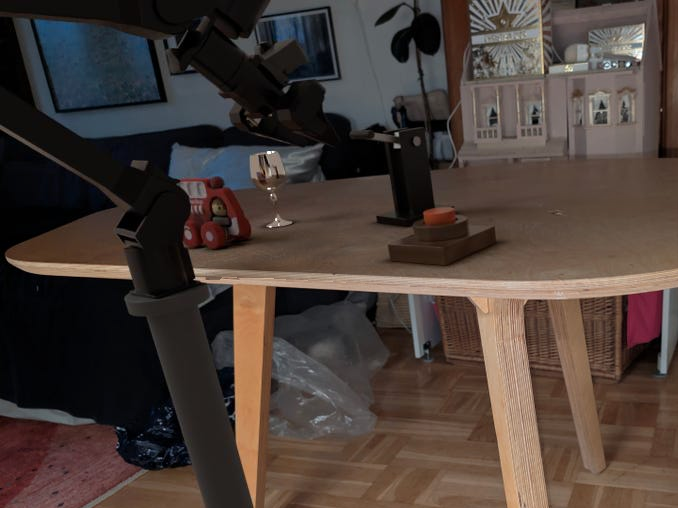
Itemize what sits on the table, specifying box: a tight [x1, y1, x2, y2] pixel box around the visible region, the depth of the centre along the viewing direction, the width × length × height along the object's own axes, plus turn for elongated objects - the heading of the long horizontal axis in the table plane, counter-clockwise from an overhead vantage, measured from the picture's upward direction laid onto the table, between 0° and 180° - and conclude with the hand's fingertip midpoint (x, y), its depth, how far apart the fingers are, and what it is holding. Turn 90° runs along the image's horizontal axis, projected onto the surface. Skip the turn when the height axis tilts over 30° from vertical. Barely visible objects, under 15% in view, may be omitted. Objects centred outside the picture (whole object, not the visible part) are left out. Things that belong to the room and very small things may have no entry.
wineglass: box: [249, 150, 293, 228], centre depth 119 cm, size 6×6×12 cm
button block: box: [387, 214, 497, 266], centre depth 90 cm, size 11×9×4 cm
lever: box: [348, 129, 401, 149], centre depth 107 cm, size 10×5×2 cm, turn 133°
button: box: [423, 207, 456, 225], centre depth 89 cm, size 4×4×2 cm
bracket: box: [375, 126, 456, 228], centre depth 111 cm, size 10×8×14 cm
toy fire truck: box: [176, 175, 252, 250], centre depth 110 cm, size 7×12×10 cm, turn 60°
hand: (321, 145), depth 100 cm, fingers open, 9 cm apart
